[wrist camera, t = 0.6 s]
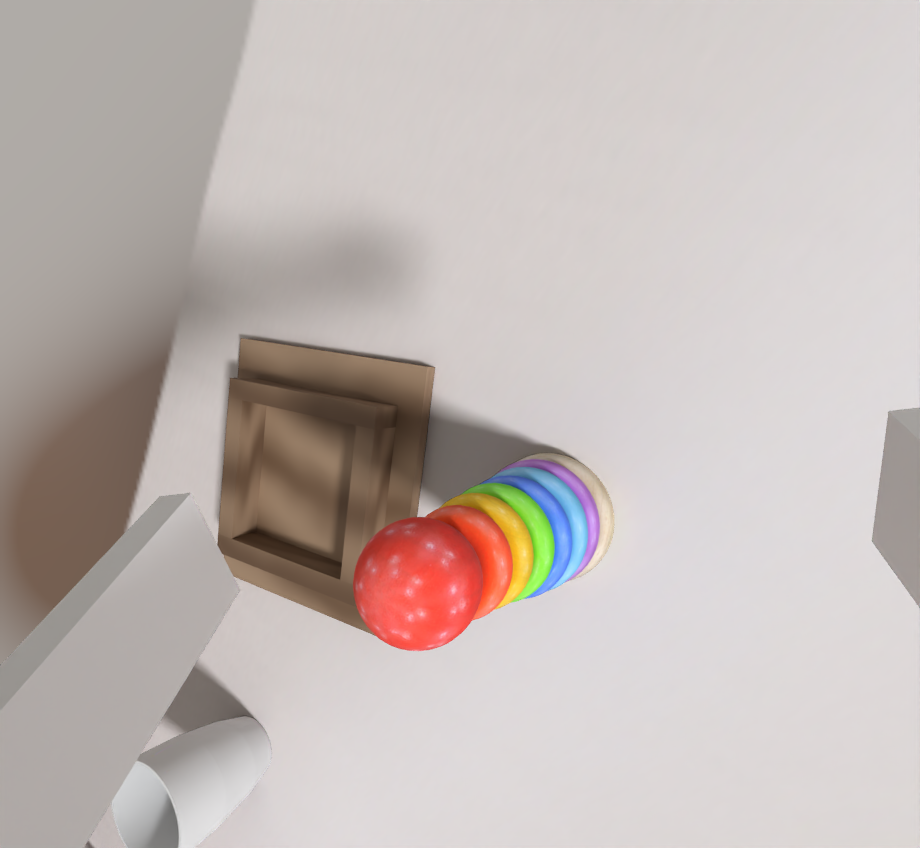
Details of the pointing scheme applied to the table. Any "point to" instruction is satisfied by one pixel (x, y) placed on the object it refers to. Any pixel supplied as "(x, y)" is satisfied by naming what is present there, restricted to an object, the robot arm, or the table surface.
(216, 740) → the cup
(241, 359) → the walnut jig
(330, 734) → the table surface
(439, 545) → the stacking toy
